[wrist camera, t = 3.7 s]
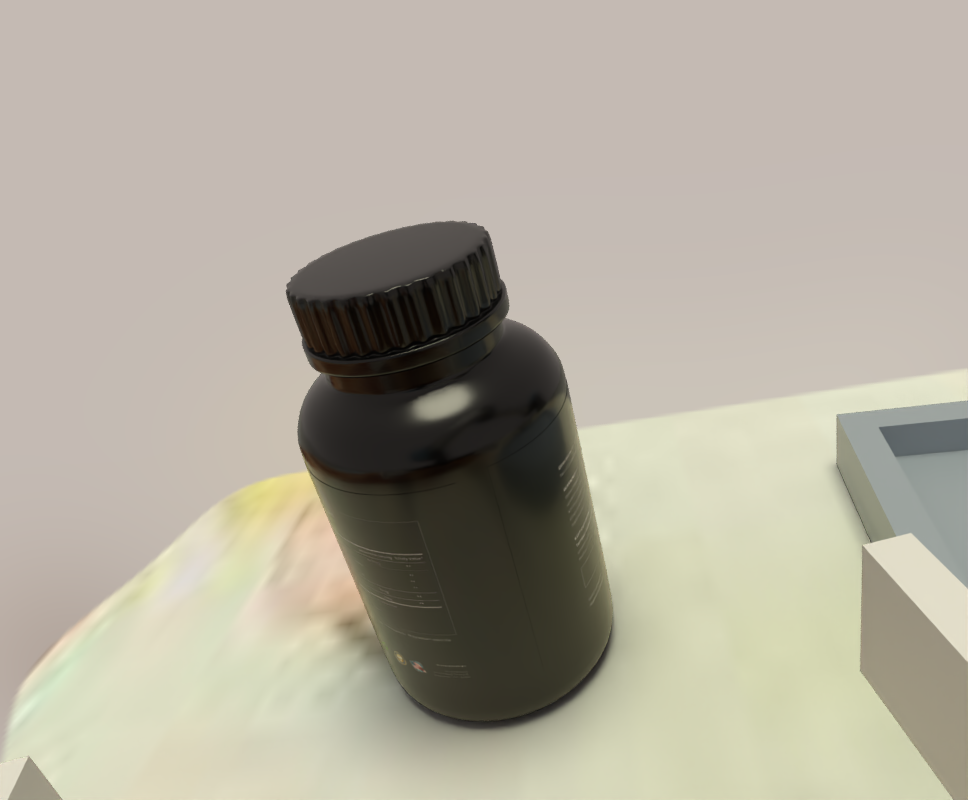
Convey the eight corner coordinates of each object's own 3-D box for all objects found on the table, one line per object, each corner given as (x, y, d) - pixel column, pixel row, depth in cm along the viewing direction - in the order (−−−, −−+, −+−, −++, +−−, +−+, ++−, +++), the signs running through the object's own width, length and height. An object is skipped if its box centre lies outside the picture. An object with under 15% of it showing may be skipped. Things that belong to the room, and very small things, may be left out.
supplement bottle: (490, 534, 27) (400, 202, 21) (660, 600, 22) (601, 203, 17) (343, 667, 23) (186, 301, 17) (514, 781, 18) (375, 336, 13)
